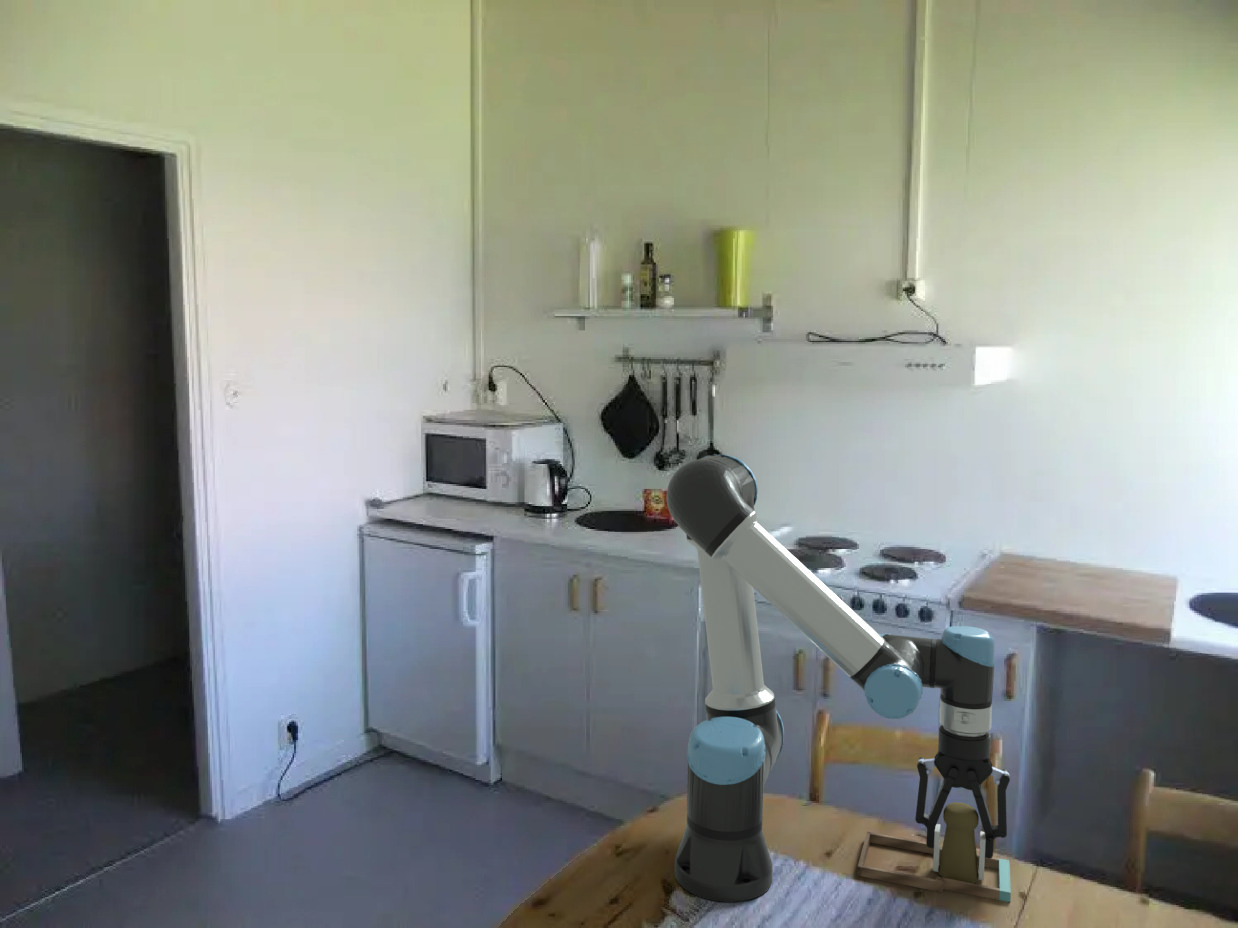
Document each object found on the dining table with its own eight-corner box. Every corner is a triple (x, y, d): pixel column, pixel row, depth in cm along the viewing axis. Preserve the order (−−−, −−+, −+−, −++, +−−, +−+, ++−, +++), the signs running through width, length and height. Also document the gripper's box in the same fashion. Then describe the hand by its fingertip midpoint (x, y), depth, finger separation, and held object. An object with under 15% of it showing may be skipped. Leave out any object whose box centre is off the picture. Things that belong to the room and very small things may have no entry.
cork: (982, 886, 144) (985, 817, 143) (940, 881, 145) (943, 813, 144) (975, 866, 150) (978, 799, 149) (935, 862, 151) (938, 795, 150)
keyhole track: (857, 875, 147) (857, 866, 147) (866, 840, 159) (867, 831, 158) (1010, 905, 139) (1010, 896, 139) (1008, 866, 151) (1009, 857, 150)
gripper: (898, 727, 145) (893, 871, 147) (1032, 746, 139) (1025, 896, 141) (902, 711, 152) (897, 849, 154) (1030, 728, 146) (1023, 871, 148)
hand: (958, 871), depth 148 cm, fingers closed on cork, 6 cm apart
